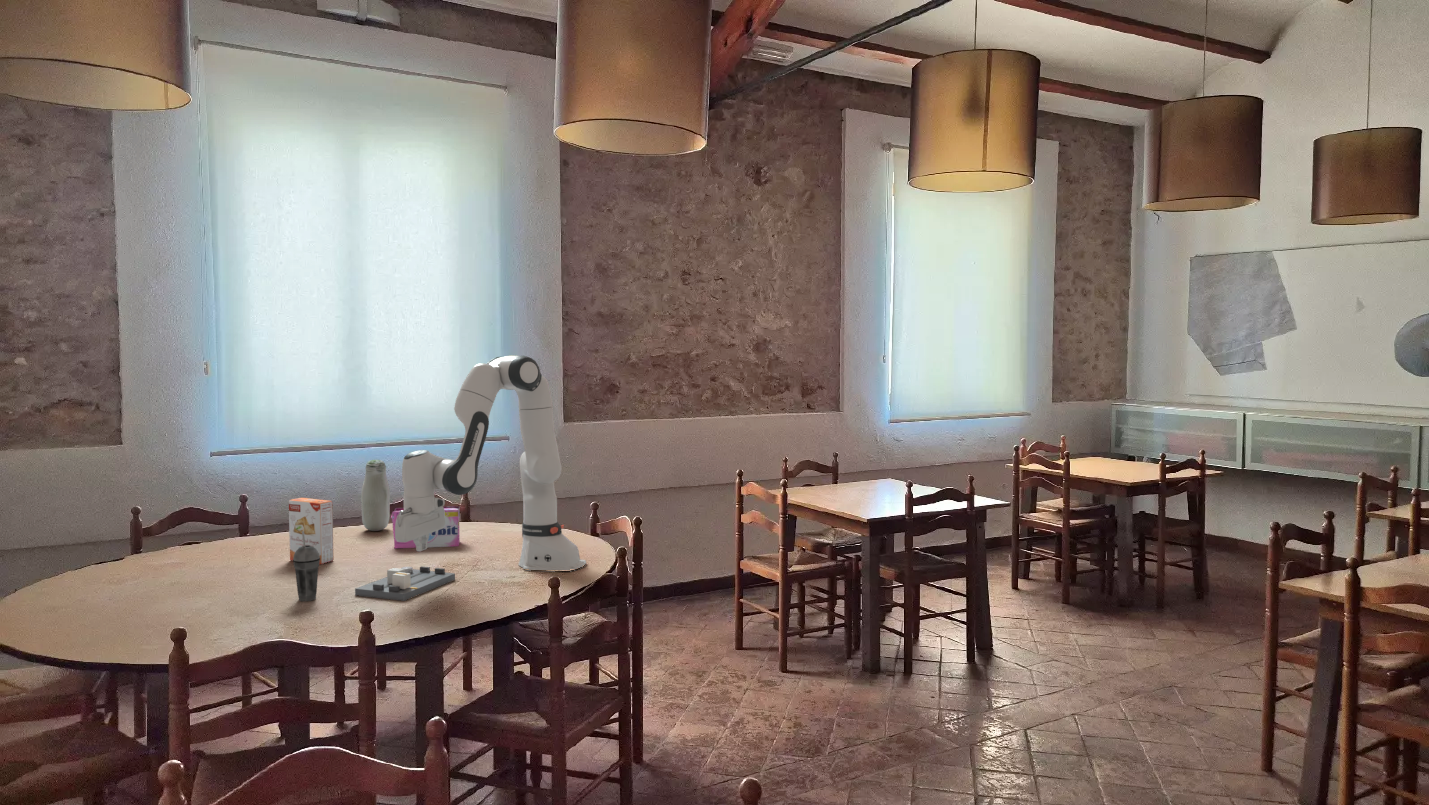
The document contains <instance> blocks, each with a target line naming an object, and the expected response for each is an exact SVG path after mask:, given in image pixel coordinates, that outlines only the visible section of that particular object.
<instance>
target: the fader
mask: <svg viewBox="0 0 1429 805" xmlns="http://www.w3.org/2000/svg"><path fill="white" fill-rule="evenodd" d="M392 585H393V586H400V589H406V588H409V587H411V584H410V573H402V572H398V573H395V574H393V575H392Z"/></svg>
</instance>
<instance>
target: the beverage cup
mask: <svg viewBox="0 0 1429 805" xmlns="http://www.w3.org/2000/svg"><path fill="white" fill-rule="evenodd" d="M302 537H303V546H302V547H300V548H299V549H297V551H296V552H295V554H294V557H293V560H292V562H293V568H294V571H295V580H296V590H297V596H298V601H299V602H312V601H315V600H316V599H317V590H318V579H319V577H318V576H319V567H320V564H319V563H320V556H319V552H318V551H317V549H316V548H314V547H313V546H310V545H305V537H304V531H302Z"/></svg>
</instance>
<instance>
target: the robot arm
mask: <svg viewBox="0 0 1429 805" xmlns="http://www.w3.org/2000/svg"><path fill="white" fill-rule="evenodd" d="M500 390H507V391H513V390H514V391H515V393H516V395H517V397H518V413H519V414H518V415H519V416H518V417H519V426H520V435H521V438H522V444H523V447H524V451H523V452H522V454H521V455H520V457H519V469H520V470H519V472H520V483H521V491H522V501H523V511H522V512H523V514H522V515H523V522H522V524H521V533H522V534H521V538H522V545H521V546H522V548H521V554H520V558H519V561H518V566H519V567H521V568H523V570H524V569H529V570H528V571H531V570H570V569H577V568H580V567H582V566H583V565H585V564H586V565H587V560H586V559H581V557H580V550H579V548H578V545H577V544H575V543H574V542H572V540H570V539H569V538H568V537H567V536H566V535H564V534H563V533H562V529H565V527H564V526H565V525H564V524H562V525H561V524H560V523H559V522H558V498H557V494H556V488H555V482H556V481H557V480H558V479H559V478H560V477H561V474H562V471H563V466H562V463H561V457H560V451H559V446H558V441H557V436H556V431H555V422H554V421H555V418H554V408H553V407H554V406H553V398H552V393H551V388H550V383H549V381H548V379H547V378H546V377H545V376H544V375H542V373H541V369H540V366H539V365H538V362H537V361H536V360H535V359H533V358H532V357H529V356H526V355H516V354H515V355H514V354H513V355H505V356H497V357H494V358H491V359H490V360H489V361H487V363H482V362H481V363H477V364H475V365H474V366H473V367H472V368H471V369H470V371H469V372H468V374H467V376H466V377H465V379H464V380H463V382H462V385H461V387H460V388H459V391H458V394H457V395H456V396H457V397H456V399H455V402H454V407H453V410H454V413H455V416H456V417H457V419H458V420H459V421H460V422H461V423H462V424H463V426H464V428H465V429H464V430H465V431H464V433H465V434H464V437H463V440H462V444H461V446H460V450H459V453H458V455H457V457H456V458H455V459H450V458H445V457H442V456H439V455H435V454H434V453H431V452H430V451H429V450H426V449H420V450H414V451H412V452H409V453H407V454H405V455H404V457H403V459H402V464H401V465H402V466H401V476H402V477H401V479H402V485H403V490H404V491H403V494H402V495H403V496H402V498H403V508H404V510H402V511H400V513H399V514H398V516H397V519H396V523H395V539H396V541H397V542H408V541H411V540H413V541H414V543H415V545H416V548H415V550H416V552H422V551H425V550H427V549H428V547H427V542H428V539H429V534H430V533H432V532H435V531H438V530H440V529H443V528H444V525H445V510H444V508H443V507H445V504H446V502H445V499H444V498H440V497H435V491H436V490H441V491H445V492H448V493H451V494H454V495H457V496H463V495H465V494H468V493H470V492H471V491H472V490H473V489H474V487H475V486H476V484H477V480H478V474H479V473H478V470H479V469H478V467H479V462H480V459H481V456H482V452H483V448H484V445H485V441H486V438H487V434H488V432H489V431H488V430H489V428H490V427H489V426H490V414H491V410H492V409H493V406H494V403H495V400H496V397H497V394H498V393H499V392H500ZM400 514H401V515H400ZM586 565H585V566H586ZM582 568H583V567H582ZM580 569H581V568H580Z"/></svg>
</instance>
